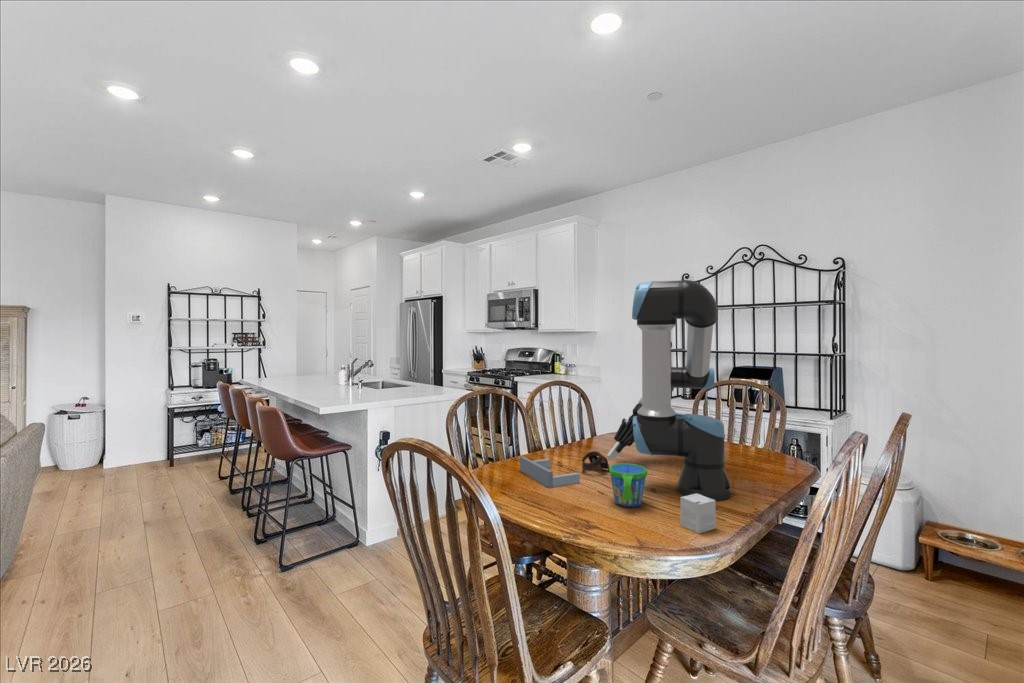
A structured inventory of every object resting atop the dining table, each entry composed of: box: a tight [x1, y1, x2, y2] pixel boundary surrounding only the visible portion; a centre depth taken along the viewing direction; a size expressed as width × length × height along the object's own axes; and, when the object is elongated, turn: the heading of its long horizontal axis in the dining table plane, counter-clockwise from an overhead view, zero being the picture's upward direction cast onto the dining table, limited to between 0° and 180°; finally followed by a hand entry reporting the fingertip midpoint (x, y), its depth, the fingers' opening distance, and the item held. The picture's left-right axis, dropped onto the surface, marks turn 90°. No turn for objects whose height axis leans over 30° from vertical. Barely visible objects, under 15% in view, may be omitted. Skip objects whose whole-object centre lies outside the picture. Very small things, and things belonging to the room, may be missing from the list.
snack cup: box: [608, 462, 648, 508], centre depth 136 cm, size 16×10×10 cm
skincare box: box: [679, 493, 717, 534], centre depth 120 cm, size 6×6×7 cm
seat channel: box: [519, 456, 581, 489], centre depth 163 cm, size 12×21×5 cm, turn 25°
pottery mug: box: [581, 450, 610, 473], centre depth 169 cm, size 12×10×8 cm
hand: (610, 457), depth 173 cm, fingers closed
